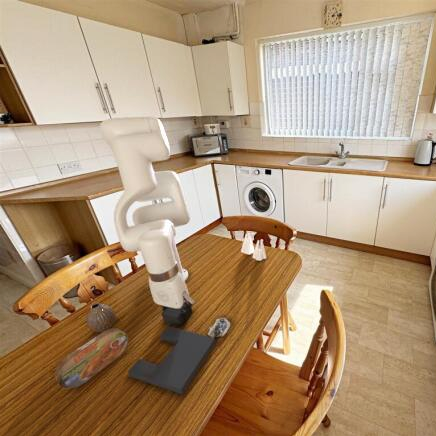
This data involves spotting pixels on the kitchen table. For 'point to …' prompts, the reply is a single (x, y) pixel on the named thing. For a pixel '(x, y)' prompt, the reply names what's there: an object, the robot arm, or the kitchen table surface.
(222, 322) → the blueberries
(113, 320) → the vase
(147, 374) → the charcoal pad
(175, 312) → the dark grey squat block
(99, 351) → the tin
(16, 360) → the kitchen table surface
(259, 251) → the shaker set
